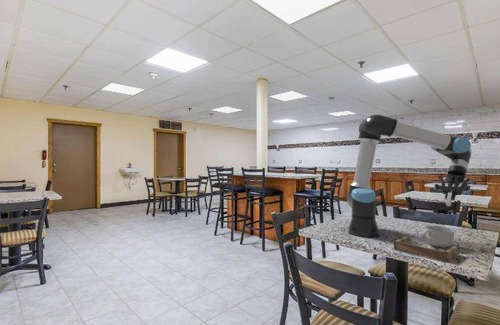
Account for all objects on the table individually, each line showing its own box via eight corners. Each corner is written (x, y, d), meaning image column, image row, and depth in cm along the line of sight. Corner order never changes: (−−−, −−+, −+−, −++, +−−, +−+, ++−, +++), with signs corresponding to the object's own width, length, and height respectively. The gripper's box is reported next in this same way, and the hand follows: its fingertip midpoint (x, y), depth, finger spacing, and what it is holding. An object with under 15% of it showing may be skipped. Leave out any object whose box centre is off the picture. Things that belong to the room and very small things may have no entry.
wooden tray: (406, 243, 124) (406, 236, 124) (457, 254, 109) (457, 246, 109) (393, 249, 116) (393, 241, 116) (447, 262, 100) (447, 253, 100)
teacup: (441, 242, 126) (441, 225, 126) (460, 249, 116) (460, 231, 116) (413, 242, 126) (413, 225, 126) (429, 250, 115) (429, 231, 115)
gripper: (474, 174, 137) (466, 211, 127) (444, 174, 147) (434, 207, 137) (472, 164, 134) (462, 200, 123) (441, 164, 144) (430, 198, 134)
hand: (447, 204), depth 130 cm, fingers closed
